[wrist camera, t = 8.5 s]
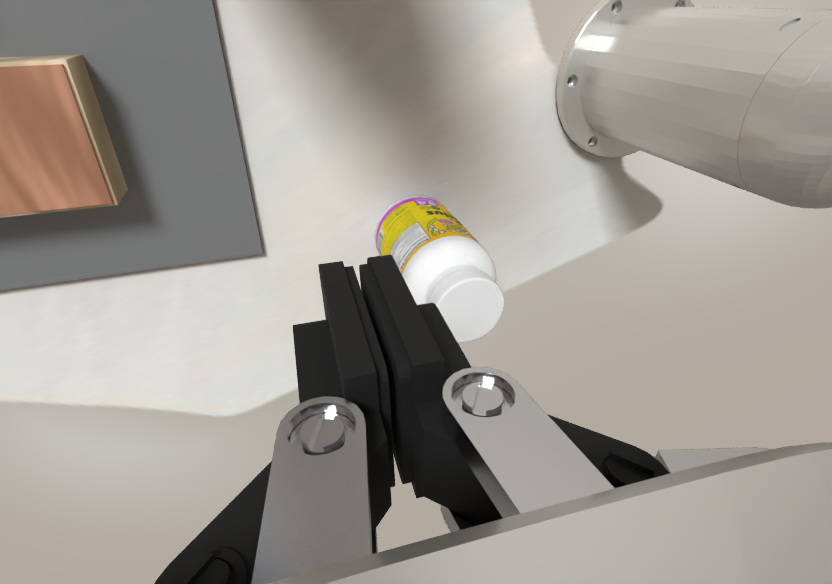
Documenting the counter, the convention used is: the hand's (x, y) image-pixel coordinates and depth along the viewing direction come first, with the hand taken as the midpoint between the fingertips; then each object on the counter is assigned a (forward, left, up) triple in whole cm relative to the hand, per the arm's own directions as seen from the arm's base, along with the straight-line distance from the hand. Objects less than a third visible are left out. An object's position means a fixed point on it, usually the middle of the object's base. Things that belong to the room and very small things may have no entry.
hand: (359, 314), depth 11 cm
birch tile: (+11, 0, -24) cm, 26 cm away
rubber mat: (+13, 0, -26) cm, 29 cm away
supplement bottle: (-9, +10, -26) cm, 29 cm away
